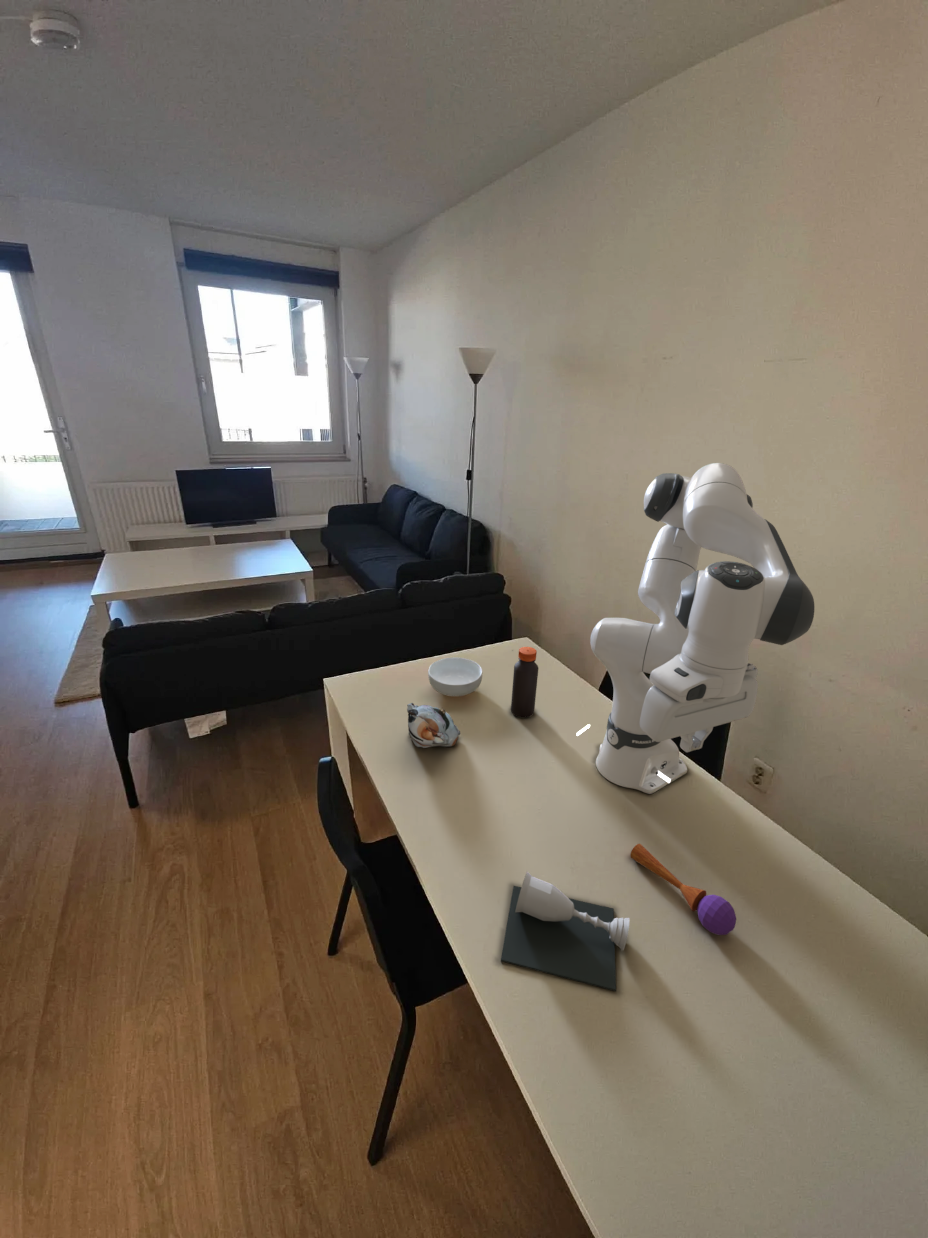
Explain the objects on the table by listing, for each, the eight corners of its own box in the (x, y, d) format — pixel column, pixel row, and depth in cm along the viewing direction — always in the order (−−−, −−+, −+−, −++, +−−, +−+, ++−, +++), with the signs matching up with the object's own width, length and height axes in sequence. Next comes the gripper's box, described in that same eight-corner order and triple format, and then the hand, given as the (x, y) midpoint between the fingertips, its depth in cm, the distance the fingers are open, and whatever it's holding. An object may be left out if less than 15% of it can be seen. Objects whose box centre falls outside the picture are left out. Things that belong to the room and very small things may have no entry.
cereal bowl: (426, 676, 164) (427, 657, 161) (477, 675, 166) (478, 656, 163) (429, 705, 148) (429, 685, 146) (485, 703, 150) (486, 683, 148)
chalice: (631, 926, 80) (522, 882, 85) (620, 967, 80) (512, 920, 85) (630, 903, 87) (529, 864, 92) (620, 941, 87) (520, 899, 92)
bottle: (538, 711, 147) (544, 650, 139) (525, 721, 143) (531, 658, 135) (519, 702, 152) (524, 642, 144) (506, 711, 147) (510, 650, 139)
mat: (613, 910, 90) (613, 908, 90) (615, 991, 78) (616, 990, 78) (513, 887, 94) (513, 885, 94) (500, 961, 81) (500, 959, 81)
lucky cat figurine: (469, 740, 134) (464, 716, 123) (433, 770, 130) (424, 747, 119) (435, 703, 142) (427, 677, 131) (400, 730, 138) (389, 705, 127)
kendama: (648, 834, 101) (747, 907, 85) (641, 859, 103) (737, 935, 87) (629, 842, 98) (728, 919, 82) (622, 868, 99) (718, 949, 84)
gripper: (742, 652, 81) (722, 724, 87) (641, 673, 74) (626, 750, 79) (777, 670, 76) (754, 745, 82) (673, 695, 69) (654, 776, 74)
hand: (690, 748), depth 80 cm, fingers closed
